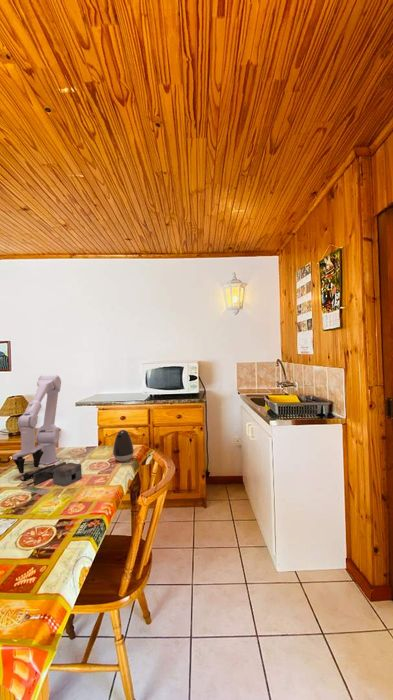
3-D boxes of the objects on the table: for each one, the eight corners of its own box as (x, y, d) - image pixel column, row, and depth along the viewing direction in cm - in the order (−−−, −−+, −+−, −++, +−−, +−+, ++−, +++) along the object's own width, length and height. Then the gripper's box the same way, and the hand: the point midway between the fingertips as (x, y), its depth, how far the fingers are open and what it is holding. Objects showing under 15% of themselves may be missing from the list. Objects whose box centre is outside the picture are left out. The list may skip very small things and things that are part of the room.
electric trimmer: (57, 471, 150) (57, 464, 150) (23, 482, 138) (23, 475, 138) (53, 469, 152) (53, 463, 152) (19, 480, 140) (19, 473, 140)
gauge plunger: (26, 487, 131) (25, 477, 131) (64, 470, 149) (64, 461, 149) (47, 491, 126) (47, 481, 126) (84, 473, 144) (84, 464, 144)
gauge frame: (21, 489, 130) (20, 475, 130) (57, 473, 146) (56, 460, 146) (47, 495, 123) (46, 480, 123) (81, 478, 140) (81, 464, 140)
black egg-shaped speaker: (109, 462, 158) (108, 432, 158) (120, 456, 168) (119, 427, 168) (127, 464, 155) (126, 433, 155) (137, 457, 165) (136, 428, 165)
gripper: (19, 446, 139) (20, 477, 139) (47, 437, 152) (48, 465, 152) (8, 444, 142) (9, 474, 142) (37, 436, 155) (38, 464, 155)
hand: (29, 470), depth 147 cm, fingers open, 7 cm apart
